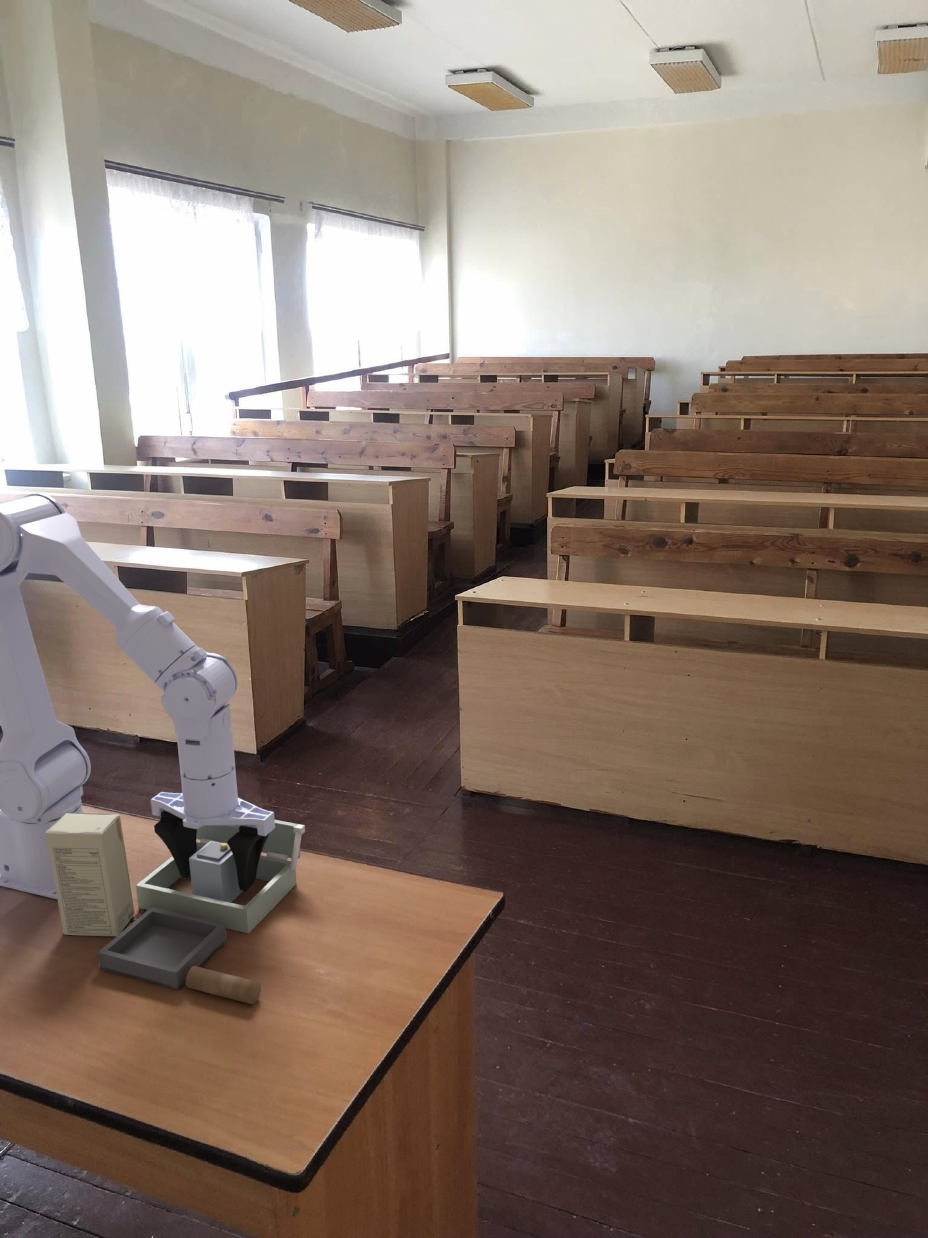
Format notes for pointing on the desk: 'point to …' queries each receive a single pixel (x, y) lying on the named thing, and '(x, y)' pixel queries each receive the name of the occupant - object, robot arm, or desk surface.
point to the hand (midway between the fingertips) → (218, 880)
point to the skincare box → (90, 874)
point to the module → (214, 872)
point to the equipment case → (234, 916)
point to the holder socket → (162, 947)
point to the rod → (223, 985)
